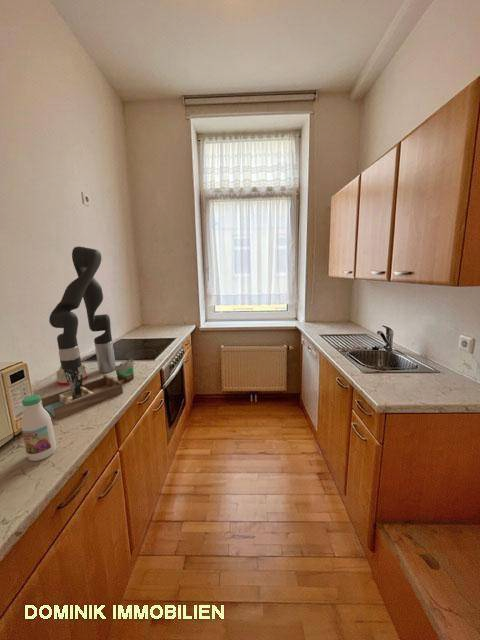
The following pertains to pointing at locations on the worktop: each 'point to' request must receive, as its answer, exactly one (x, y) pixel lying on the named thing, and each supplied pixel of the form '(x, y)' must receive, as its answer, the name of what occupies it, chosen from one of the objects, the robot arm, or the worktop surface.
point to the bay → (99, 387)
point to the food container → (125, 371)
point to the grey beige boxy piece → (71, 396)
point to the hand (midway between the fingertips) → (76, 393)
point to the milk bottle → (37, 429)
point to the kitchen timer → (62, 378)
